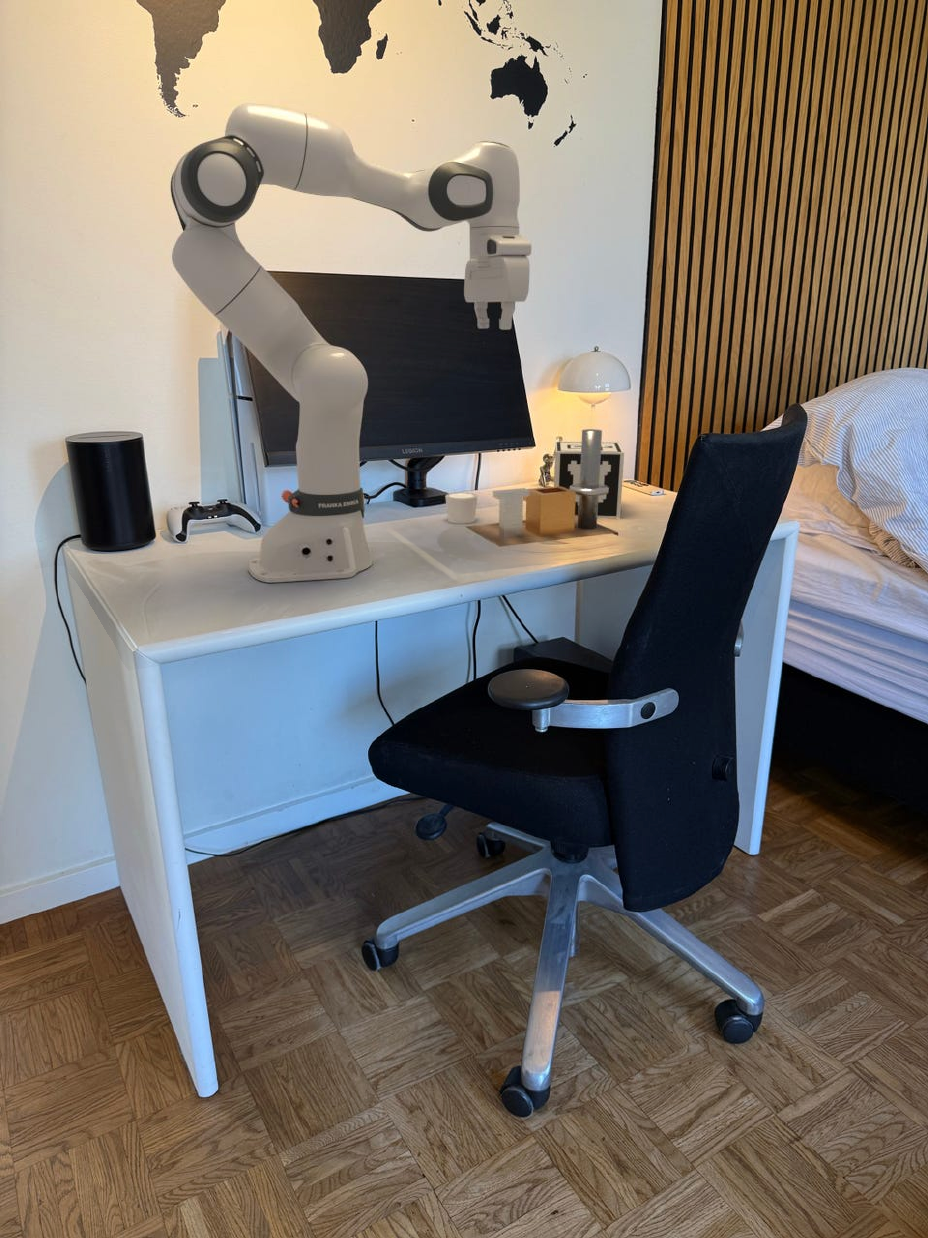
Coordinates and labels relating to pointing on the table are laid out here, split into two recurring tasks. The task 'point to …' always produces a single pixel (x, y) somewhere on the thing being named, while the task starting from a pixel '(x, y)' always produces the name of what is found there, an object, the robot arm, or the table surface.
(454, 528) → the table surface
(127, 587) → the table surface
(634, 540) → the table surface
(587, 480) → the ringlock node
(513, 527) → the wedge pin
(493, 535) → the base board
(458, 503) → the white short cylinder
